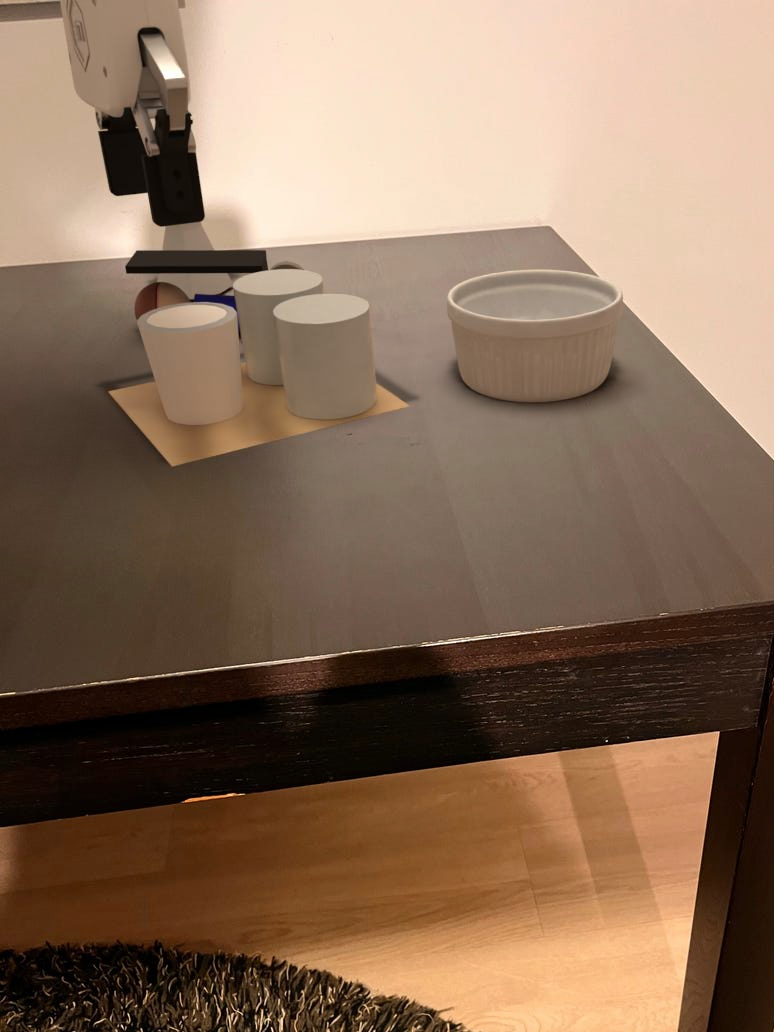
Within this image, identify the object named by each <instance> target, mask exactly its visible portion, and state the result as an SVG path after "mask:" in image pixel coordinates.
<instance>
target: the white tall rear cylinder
mask: <svg viewBox="0 0 774 1032" xmlns="http://www.w3.org/2000/svg"><path fill="white" fill-rule="evenodd" d="M232 283H233V286H232V290H233V296H234V297H235V303H236V309H237V316H238V322H239V328H240V332H239V333H240V340H241V345H242V352H243V359H244V362H245V365H246V371H247V376H248V377H249V378H250V379H251V380H252V381H254V382H257V383H260V384H265V385H273V386H283V381H282V374H281V367H280V359H279V352H278V345H277V338H276V331H275V324H274V317H273V310H274V308H275V307H276V306H277V305H279V304H280V303H282V302H284V301H287V300H290V299H293V298H297V297H301V296H307V295H314V294H325V289H324V288H325V286H324V279H323V277H322V275H320V274H319V273H317V272H314V271H311V270H306V269H304V270H298V269H277V270H270V269H268V271H261V272H256V273H248V274H246V275H243V276H240V277H239V278H237V279H236V280H235V281H234V282H232Z"/></svg>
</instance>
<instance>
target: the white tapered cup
mask: <svg viewBox="0 0 774 1032" xmlns="http://www.w3.org/2000/svg"><path fill="white" fill-rule="evenodd" d="M136 325H137V328H138V330H139V334H140V337H141V341H142V342H143V346H144V349H145V353H146V356H147V359H148V362H149V365H150V366H149V367H150V369H151V372H152V374H153V378H154V382H156V385H157V388H158V391H159V394H160V398H161V401H162V404H163V407H164V410H165V413H166V416H167V418H168V419H169V420H171V421H173V422H175V423H178V424H185V425H206V424H212V423H217V422H221V421H224V420H227V419H230V418H232V417H234V416H235V415H237V414H238V413H240V412H241V410H242V408H243V394H242V379H241V365H240V363H241V354H240V352H241V351H240V338H239V337H240V336H239V332H238V321H237V312H236V311H235V310H234V308H233V307H230V306H227V305H224V304H219V303H210V302H194V301H193V302H191V303H182V304H175V305H169V306H165V307H161V308H157V309H154V310H151V311H149V312H147V313H145V314H143V315H141V317H140V318H139V319H138V320H137V319H136Z"/></svg>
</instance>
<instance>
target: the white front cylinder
mask: <svg viewBox="0 0 774 1032" xmlns="http://www.w3.org/2000/svg"><path fill="white" fill-rule="evenodd" d="M273 317H274V324H275V331H276V338H277V345H278V352H279V359H280V367H281V374H282V381H283V388H284V395H285V402H286V407H287V409H288V410H289V412H291V413H292V414H294V415H296V416H299V417H303V418H307V419H315V420H332V419H341V418H347V417H352V416H355V415H358V414H361V413H363V412H366V411H368V410H369V409H371V408H372V407H373V406H374V405H375V404H376V402H377V388H376V383H377V378H376V367H375V366H376V365H375V355H374V354H375V353H374V344H373V330H372V329H373V328H372V319H371V306H370V303H369V302H368V301H367V299H364V298H362V297H360V296H356V295H351V294H344V293H324V294H314V295H307V296H301V297H297V298H293V299H290V300H287V301H284V302H282V303H280V304H279V305H277V306H276V307H275V308H274V310H273Z"/></svg>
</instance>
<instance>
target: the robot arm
mask: <svg viewBox="0 0 774 1032" xmlns="http://www.w3.org/2000/svg"><path fill="white" fill-rule="evenodd" d="M59 3H60V11H61V15H62V22H63V28H64V34H65V40H66V46H67V51H68V52H67V53H68V58H69V59H68V60H69V66H70V72H71V77H72V81H73V87H74V91H75V93H76V95H77V97H78V98H79V99H81V100H82V101H83V102H84V103H86V104H87V105H89V106H91V107H92V108H94V115H95V120H96V124H97V127H98V129H99V130H98V131H97V133H98V140H99V143H100V149H101V154H102V158H103V164H104V170H105V174H106V180H107V184H108V189H109V192H110V193H111V194H112V195H113V196H115V197H124V196H132V195H133V196H134V195H140V194H147V199H148V204H149V210H150V215H151V220H152V222H153V224H155V225H156V226H158V227H159V228H160V227H163V228H164V227H165V226H171V225H179V224H187V223H195V222H201V223H202V222H203V221H204V220H205V217H206V213H205V206H204V200H203V199H204V198H203V193H202V186H201V179H200V172H199V165H198V158H197V143H196V139H195V136H194V133H193V130H192V125H193V124H194V119H192V116H193V115H192V113H191V112H190V111H189V105H190V103H191V99H192V98H191V97H192V96H191V95H192V94H191V82H190V81H191V80H190V73H189V71H190V70H189V64H188V56H187V55H188V54H187V50H186V43H185V37H184V30H183V25H182V17H181V12H180V6H179V0H59ZM153 119H154V126H153V124H152V120H153Z"/></svg>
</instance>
